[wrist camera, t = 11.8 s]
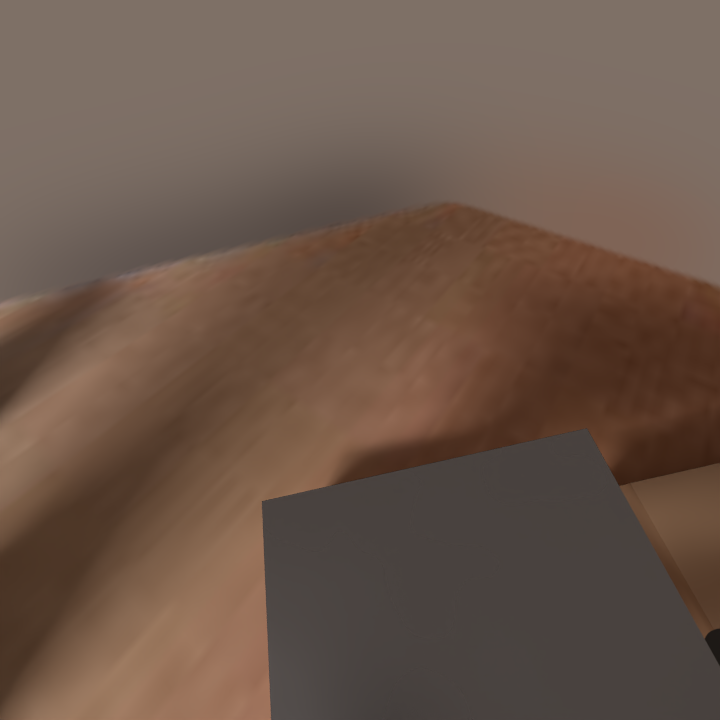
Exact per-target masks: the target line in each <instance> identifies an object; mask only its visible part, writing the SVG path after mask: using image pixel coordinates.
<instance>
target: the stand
mask: <svg viewBox="0 0 720 720" xmlns="http://www.w3.org/2000/svg"><path fill="white" fill-rule="evenodd" d="M619 487H620V488H621V490H622V492H623V494H624V496H625V497H626V499H627V501H628V503H629V504H630V506H631V508H632V510H633V512H634V513H635V515H636V517H637V519H638V521H639V522H640V524H641V526H642V528H643V530H644V531H645V533H646V535H647V537H648V539H649V540H650V542H651V544H652V546H653V547H654V549H655V551H656V553H657V555H658V556H659V558H660V560H661V562H662V564H663V565H664V567H665V569H666V571H667V573H668V574H669V576H670V578H671V580H672V581H673V583H674V585H675V587H676V589H677V590H678V592H679V594H680V596H681V598H682V599H683V601H684V603H685V605H686V607H687V608H688V610H689V612H690V614H691V616H692V617H693V619H694V621H695V623H696V624H697V626H698V628H699V630H700V632H701V633H702V635H703V637H704V639H705V637H706V635H707V634H708V633H709V632H710V631H712V630H715V629H718V628H720V463H717V464H712V465H708V466H704V467H699V468H695V469H690V470H686V471H681V472H677V473H673V474H668V475H664V476H659V477H655V478H650V479H646V480H642V481H637V482H633V483H629V484H625V485H621V486H619Z"/></svg>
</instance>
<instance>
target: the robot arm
mask: <svg viewBox="0 0 720 720" xmlns="http://www.w3.org/2000/svg"><path fill="white" fill-rule="evenodd" d="M705 641H706V642H707V644H708V646H709V648H710V650H711V651H712V653H713V655H714V657H715V659H716V660H717V662H718V664H719V666H720V628H718V629H715V630H712V631H710V632H709V633H708V634H707V635H706V637H705Z"/></svg>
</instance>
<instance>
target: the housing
mask: <svg viewBox="0 0 720 720" xmlns="http://www.w3.org/2000/svg"><path fill="white" fill-rule="evenodd" d="M262 514H263V538H264V561H265V585H266V608H267V632H268V655H269V679H270V702H271V720H720V666H719V664H718V662H717V660H716V659H715V657H714V655H713V653H712V651H711V650H710V648H709V646H708V644H707V642H706V641H705V639H704V637H703V635H702V633H701V632H700V630H699V628H698V626H697V624H696V623H695V621H694V619H693V617H692V616H691V614H690V612H689V610H688V608H687V607H686V605H685V603H684V601H683V599H682V598H681V596H680V594H679V592H678V590H677V589H676V587H675V585H674V583H673V581H672V580H671V578H670V576H669V574H668V573H667V571H666V569H665V567H664V565H663V564H662V562H661V560H660V558H659V556H658V555H657V553H656V551H655V549H654V547H653V546H652V544H651V542H650V540H649V539H648V537H647V535H646V533H645V531H644V530H643V528H642V526H641V524H640V522H639V521H638V519H637V517H636V515H635V513H634V512H633V510H632V508H631V506H630V504H629V503H628V501H627V499H626V497H625V496H624V494H623V492H622V490H621V488H620V487H619V485H618V483H617V481H616V479H615V478H614V476H613V474H612V472H611V470H610V469H609V467H608V465H607V463H606V462H605V460H604V458H603V456H602V454H601V453H600V451H599V449H598V447H597V445H596V444H595V442H594V440H593V438H592V436H591V435H590V433H589V431H588V429H587V428H586V429H582V430H577V431H573V432H568V433H564V434H560V435H555V436H551V437H546V438H542V439H537V440H533V441H528V442H524V443H519V444H515V445H511V446H506V447H502V448H497V449H493V450H488V451H484V452H479V453H475V454H470V455H466V456H462V457H457V458H453V459H448V460H444V461H439V462H435V463H430V464H426V465H421V466H417V467H413V468H408V469H404V470H399V471H395V472H390V473H386V474H381V475H377V476H372V477H368V478H364V479H359V480H355V481H350V482H346V483H341V484H337V485H332V486H328V487H323V488H319V489H315V490H310V491H306V492H301V493H297V494H292V495H288V496H283V497H279V498H274V499H270V500H266V501H262Z"/></svg>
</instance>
